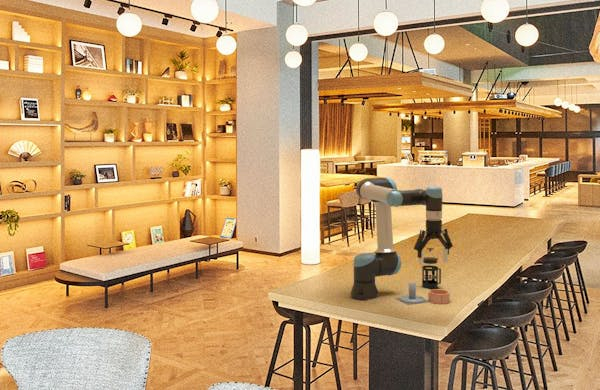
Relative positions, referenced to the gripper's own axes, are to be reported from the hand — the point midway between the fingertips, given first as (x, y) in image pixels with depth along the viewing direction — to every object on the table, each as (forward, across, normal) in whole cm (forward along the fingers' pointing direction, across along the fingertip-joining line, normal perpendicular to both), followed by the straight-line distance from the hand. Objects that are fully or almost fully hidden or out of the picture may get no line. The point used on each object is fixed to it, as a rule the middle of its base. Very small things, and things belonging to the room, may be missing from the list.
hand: (433, 263), depth 268 cm
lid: (+26, +5, +26) cm, 37 cm away
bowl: (+26, +17, +19) cm, 36 cm away
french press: (+27, +30, +46) cm, 61 cm away
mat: (+26, +5, +26) cm, 37 cm away
